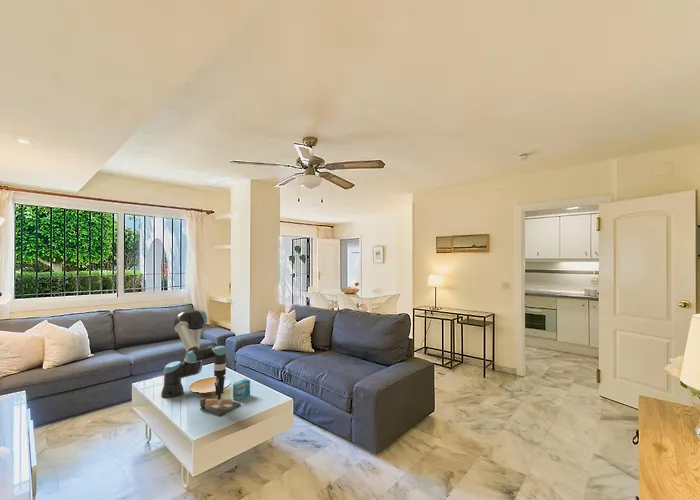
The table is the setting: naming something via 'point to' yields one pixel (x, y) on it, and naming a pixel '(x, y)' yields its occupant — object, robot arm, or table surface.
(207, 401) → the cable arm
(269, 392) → the table surface
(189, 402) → the table surface
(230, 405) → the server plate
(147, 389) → the table surface
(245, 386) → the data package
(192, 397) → the table surface
